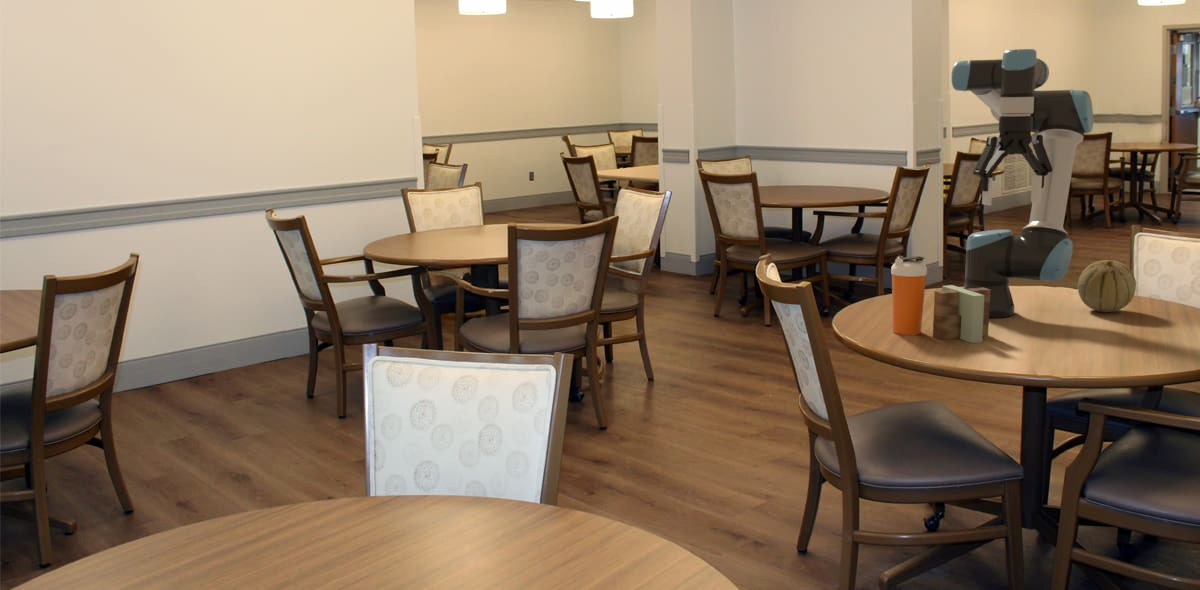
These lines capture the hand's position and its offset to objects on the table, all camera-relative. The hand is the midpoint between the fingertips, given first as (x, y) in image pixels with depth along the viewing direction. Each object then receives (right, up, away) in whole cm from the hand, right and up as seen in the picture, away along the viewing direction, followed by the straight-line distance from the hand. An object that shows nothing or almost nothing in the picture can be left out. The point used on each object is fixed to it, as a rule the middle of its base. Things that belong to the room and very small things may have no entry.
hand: (1011, 203), depth 247 cm
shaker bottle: (-20, -32, +19) cm, 42 cm away
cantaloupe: (+41, -27, +36) cm, 61 cm away
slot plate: (-8, -33, +13) cm, 36 cm away
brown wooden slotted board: (-8, -33, +13) cm, 36 cm away
